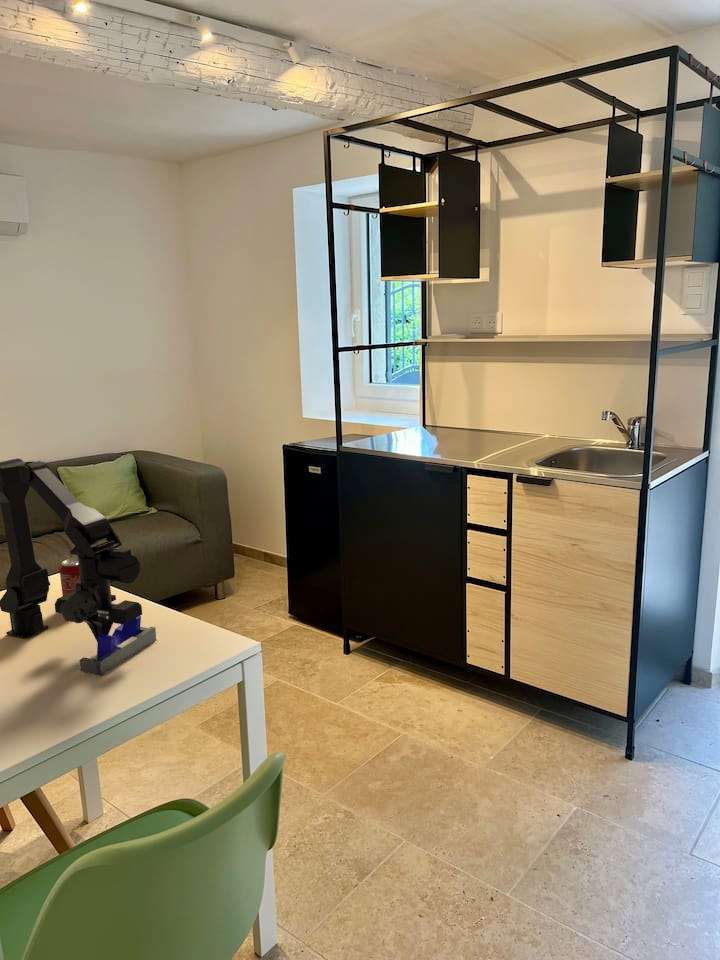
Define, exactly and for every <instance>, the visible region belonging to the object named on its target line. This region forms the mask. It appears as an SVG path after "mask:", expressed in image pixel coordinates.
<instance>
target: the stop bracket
mask: <svg viewBox="0 0 720 960" xmlns="http://www.w3.org/2000/svg"><path fill="white" fill-rule="evenodd" d="M156 633H157V631H156V627H155V626H149V627H143V626H140V634H138V635H136V636H135V637H131V638H129V639H128V640H126V641H124V642H123V643H121V644H120V645H118V646H116V649H114V650H113V651H112V652H111V653H110V652H109V653H107V654H106V655H104V656H103V657H101V658H99V659H98V660H97V659H95V658H89V657H85V656H84V657H82V658H80V659H79V660H78V661H79V667H80V668H79V669H80V672H83V673H87V674H93V675H97V676H101V677H102V676H104V675H105V674H107V673H108V672H110V671H111V670H113V669H114V668H116V667H118V666H119V665H120V664H122V663H124V662H126V660H129V658H131V657H133V656H134V655H136V654H137V653H139V652H140V651H142V650H144V649H145V648H146V647H148V646H150V645H151V644H153V643H154V642H156V641H157V634H156Z"/></svg>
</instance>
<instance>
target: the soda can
mask: <svg viewBox="0 0 720 960" xmlns="http://www.w3.org/2000/svg"><path fill="white" fill-rule="evenodd" d="M59 575H60V576H59V577H60V584H61V592H62V595H61V596H64V595H66V594H68V593H70V592H76V583H78V582H80V571H79V562H78V557H71V558H67V559H65V560H63V561H62V562H61V567H60V568H59Z"/></svg>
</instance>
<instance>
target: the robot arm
mask: <svg viewBox="0 0 720 960" xmlns="http://www.w3.org/2000/svg"><path fill="white" fill-rule="evenodd" d="M30 488H32V489H33V490H34V491H35V493H37V495H38V496H39V497H40V498H41V499H42V500H43V501H44V502H45V503H46V504H47V506H48V507H49V508H50V509H51V510H52V511H53V512H54V513H55V514H56V515H57V516H58V517H59V518H60V520H61V521H62V524H63V531H64V533H65V535H66V536H67V538H68V539H69V540H70V542H71V543H72V544H73V546H74V547H73V548H72V549H71V550H70V551H69V553H70V555H74V556H77V558H78V562H79V571H80V582H78V583H76V592H70V593H68V594H66V595H64V596H63V595H61V596H60V597H58V598H57V599H56V601H55V603H54V611H55V613H57V614H61V616H62V617H63V619H64V621H65V622H73V623H75V624H81V623H86V625H87V626H88V628H89V630H90V631H91V633H92V634H93V636H94V638H95V641H96V642H97V644H98V636H99V635H101V634H106V635H110V633H111V632H110V631H111V629H112V627H113V625H114V624H118V625H121V624H127V623H128V622H130V621H132V620H134V619H135V618H137V617H139V616H142V615H143V606H142V604H140V603H139V602H137V601H132V600H126V599H124V600H123V601H121V602H118V603H113V602H115V601H116V600H117V596H116V595H115V594H112V587H111V584H112V583H114V582H117V583H123V584H125V585H127V584H132V583H134V582H135V581H136V579H137V578H138V577H139V574H140V570H141V563H140V562H139V559H138V558H137V556H135V555H133V554H132V550H131V549H129V548H120V547H122V545H123V543H122V542H121V540H120V539H119V538H120V537H119V536H118V535H117V533H116V532H115V531H114V529H113V527H112V525H111V524H110V522H109V520H108V519H107V517H105V516H104V515H103V514H102V513H101V512H100V511H98V510H97V509H95V508H93V507H90V506H87V505H85V504H83V503H81V502H80V501H79V499H78V498H76V497H75V496H74V494H72V492H71V491H70V490H69V489H68V488H67V487H66V485H64V484H63V483H62V481H61V480H59V479H58V477H57V476H56V475H54V473H53V472H52V471H51V470H50V468H49V465H48V463H46V462H45V461H41V460H39V461H34V460H33V461H24V460H23V459H21V458H13V459H8V460H3V461H0V509H1V514H2V521H3V526H4V531H5V538H6V543H7V548H8V550H7V551H8V555H9V560H10V568H9V569H8V570H9V571H8V574H7V575H6V577H5V588H6V591H5V592H4V594H3V595H2V596H1V598H0V611H1V612H4V613H7V614H9V618H10V629H11V630H8V631H6V632H5V633H6V634H7V635H6V636H10V637H15V638H21V639H30V638H32V637H34V636H35V635H37V634H39V633H42V632H43V631H45V630H47V629H48V628H49V625H48V624H44V619H43V613H42V609H41V604H42V603H45V602H47V601H48V594H49V592H50V586H51V583H50V579H49V572H48V569H47V568H42V567H41V565H39V564H38V563H37V561H36V556H35V550H34V543H33V539H32V533H31V532H32V531H31V526H30V521H29V514H28V509H27V503H26V502H27V501H26V498H27V496H28V493H29V491H30ZM104 541H105V542H104ZM101 542H102V543H101ZM99 543H100V544H99ZM96 544H97V545H96Z"/></svg>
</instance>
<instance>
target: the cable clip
mask: <svg viewBox="0 0 720 960" xmlns="http://www.w3.org/2000/svg"><path fill="white" fill-rule="evenodd" d="M141 619H142V615H140V616H139V617H137V618H135V619H134V620H132V621H130V622H128V623H127V624H119V626H116V627H115V628H114V631H113V633H112V635H110V634H109V635H106V634H101V635H99V636H98V643H97V645H96V646H97V647H96V649H97V651H96V660H98V659H99V658H101V657H103V656H104V655H106V654H107V653H109V652H110V653H111V652H112V651H113V650H114V649H116V646H118V645H120V644H121V643H123V642H124V641H126V640H128V639H129V638H131V637H135V636H136V635H138V634H140V627H141V623H142V621H141Z"/></svg>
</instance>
